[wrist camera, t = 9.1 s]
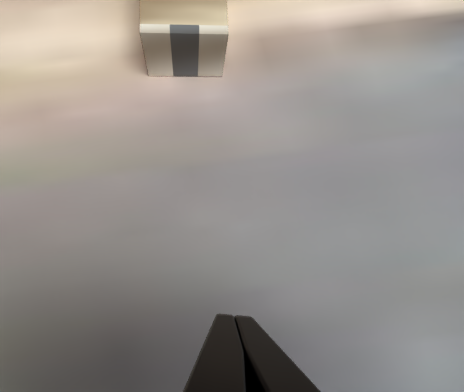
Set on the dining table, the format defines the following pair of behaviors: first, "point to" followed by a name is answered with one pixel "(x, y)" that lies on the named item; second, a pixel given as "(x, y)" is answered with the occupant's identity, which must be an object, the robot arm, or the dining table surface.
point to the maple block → (184, 36)
